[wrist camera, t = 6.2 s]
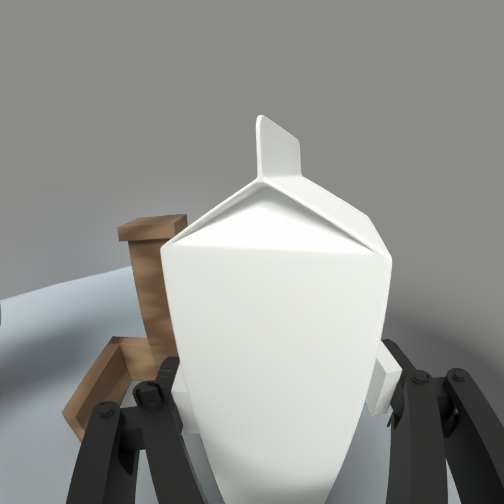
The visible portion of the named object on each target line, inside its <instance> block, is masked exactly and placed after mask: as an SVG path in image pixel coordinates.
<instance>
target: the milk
mask: <svg viewBox="0 0 504 504" xmlns="http://www.w3.org/2000/svg"><path fill="white" fill-rule="evenodd" d="M256 141H257V142H256V143H257V165H258V166H257V168H258V174H257V178H256V179H255V180H254V181H253V182H251V183H250V184H248V185H247V186H245V187H244V188H242V189H241V190H239V191H238V192H237V193H235V194H234V195H232V196H231V197H229V198H228V199H226V200H225V201H223V202H222V203H221V204H219V205H218V206H216V207H215V208H213V209H212V210H210V211H209V212H208V213H206V214H205V215H203V216H202V217H201V218H200V219H198V220H196V221H195V222H194V223H192V224H191V225H190V226H188V227H187V228H185V229H184V230H183V231H181V232H180V233H179V234H177V235H176V236H175V237H173V238H172V239H171V240H169V241H168V242H167V243H165V244H164V245H163V246H162V247H161V249H160V253H161V261H162V268H163V275H164V281H165V287H166V293H167V299H168V305H169V310H170V316H171V321H172V326H173V331H174V336H175V341H176V345H177V350H178V354H179V359H180V363H181V367H182V371H183V375H184V379H185V383H186V387H187V391H188V395H189V398H190V402H191V406H192V409H193V413H194V416H195V420H196V423H197V426H198V430H199V433H200V436H201V439H202V442H203V445H204V448H205V451H206V454H207V457H208V460H209V463H210V466H211V469H212V471H213V474H214V477H215V480H216V482H217V485H218V487H219V490H220V493H221V495H222V498H223V500H224V503H225V504H324V503H325V501H326V499H327V497H328V495H329V493H330V491H331V489H332V487H333V484H334V482H335V480H336V478H337V476H338V473H339V471H340V469H341V466H342V464H343V461H344V459H345V457H346V454H347V451H348V449H349V446H350V444H351V441H352V438H353V435H354V433H355V430H356V427H357V424H358V421H359V418H360V415H361V412H362V409H363V405H364V402H365V399H366V395H367V392H368V388H369V385H370V381H371V377H372V374H373V370H374V366H375V361H376V357H377V353H378V348H379V344H380V339H381V334H382V329H383V323H384V318H385V312H386V306H387V300H388V293H389V285H390V278H391V269H392V258H391V256H390V254H389V252H388V250H387V248H386V247H385V245H384V243H383V241H382V240H381V238H380V236H379V234H378V232H377V231H376V229H375V227H374V225H373V224H372V222H371V220H370V219H369V217H368V216H366V215H365V214H363V213H362V212H360V211H359V210H357V209H356V208H354V207H352V206H351V205H349V204H348V203H346V202H345V201H343V200H342V199H340V198H338V197H336V196H335V195H333V194H332V193H330V192H328V191H326V190H325V189H323V188H322V187H320V186H318V185H317V184H315V183H313V182H312V181H310V180H308V179H306V178H305V177H303V176H302V175H301V161H300V145H299V140H297V139H296V138H295V137H293V136H292V135H291V134H289V133H288V132H287V131H285V130H284V129H282V128H281V127H280V126H278V125H277V124H275V123H274V122H273V121H271V120H270V119H268V118H267V117H265V116H264V115H259V116H258V117H257V121H256Z"/></svg>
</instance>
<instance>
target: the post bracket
mask: <svg viewBox="0 0 504 504" xmlns="http://www.w3.org/2000/svg"><path fill="white" fill-rule="evenodd" d="M187 226H188V225H187V214H182V215H181V214H180V215H167V216H156V217H145V218H138V219H135V220H133V221H131V222H129V223H126V224H124V225H122V226H120V227H118V228H117V229H118V237H119V241H128V245H129V251H130V257H131V264H132V270H133V275H134V281H135V286H136V291H137V296H138V300H139V305H140V310H141V314H142V318H143V323H144V327H145V331H146V335H147V338H133V337H115V336H113V337H112V339H111V340H110V341H109V343H108V344H107V346H106V347H105V348H104V350H103V351H102V353H101V354H100V355H99V357H98V358H97V360H96V361H95V363H94V364H93V366H92V367H91V369H90V370H89V372H88V373H87V374H86V376H85V377H84V379H83V380H82V382H81V383H80V385H79V386H78V388H77V390H76V391H75V393H74V394H73V396H72V397H71V399H70V400H69V402H68V404H67V405H66V407H65V408H64V410H63V411H62V415H63V416H64V418H65V420H66V421H67V423H68V424H69V426H70V427H71V429H72V430H73V431H74V433H75V434H76V436H77V437H78V439H79V440H80V441H81V443H82V440H83V437H84V434H85V430H86V427H87V424H88V421H89V418H90V415H91V412H92V410H93V408H94V407H95V406H96V405H97V404H98V403H100V402H103V401H113V402H115V403H117V404H118V405H119V406H120V404H121V402H122V400H123V398H124V395H125V393H126V391H127V389H128V387H129V385H130V383H131V381H132V380H139V381H148V380H154V381H155V379H156V376H157V374H158V371H159V369H160V366H161V363H162V362H163V361H164V360H165V359H166V358H167V357H168V356H171V357H179V354H178V350H177V345H176V341H175V336H174V331H173V326H172V321H171V316H170V310H169V305H168V299H167V293H166V287H165V281H164V275H163V268H162V261H161V253H160V249H161V247H162V246H163V245H164V244H165V243H167V242H168V241H169V240H171V239H172V238H173V237H175V236H176V235H177V234H179V233H180V232H181V231H183V230H184V229H185V228H186V227H187Z"/></svg>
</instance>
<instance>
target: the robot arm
mask: <svg viewBox="0 0 504 504" xmlns="http://www.w3.org/2000/svg"><path fill="white" fill-rule="evenodd" d="M0 325H1V305H0ZM132 394H133V396H134V399H135V401H136V403H137V406H134V407H128V408H120V406H119V405H118V404H117V403H115V402H113V401H103V402H100V403H98V404H97V405H96V406H95V407H94V408H93V410H92V412H91V415H90V418H89V421H88V424H87V427H86V430H85V434H84V437H83V440H82V443H81V447H80V450H79V453H78V457H77V460H76V464H75V468H74V472H73V475H72V479H71V484H70V488H69V492H68V496H67V501H66V504H135V492H136V481H137V470H138V461H139V453H140V450H144V449H146V454H147V459H148V463H149V468H150V472H151V476H152V480H153V484H154V488H155V492H156V495H157V499H158V502H159V504H208V502H207V500H206V498H205V496H204V493H203V491H202V489H201V486H200V484H199V481H198V479H197V476H196V474H195V471H194V468H193V466H192V463H191V460H190V458H189V455H188V452H187V449H186V446H185V443H184V440H183V438H182V435H181V432H182V428H183V429H184V431H185V433H194V434H200V433H199V430H198V426H197V423H196V420H195V416H194V413H193V409H192V406H191V402H190V398H189V395H188V391H187V387H186V383H185V379H184V375H183V371H182V367H181V363H180V359H179V357H171V356H168V357H167V358H166V359H165V360H164V361H163V362H162V363H161V366H160V369H159V371H158V374H157V376H156V379H155V381H154V380H148V381H144V382H141V383H139V384H138V385H136V386H135V388H134V389H133V393H132ZM365 402H366V404H367V406H368V408H369V411H370V413H371V415H372V416H376V415H380V414H384V413H387V411H388V408H389V406H390V405H391V407H392V409H393V412H392V415H391V417H390V419H389V422H388V424H387V427H389V426H390V423H391V448H390V467H389V479H388V489H387V498H386V504H448V488H447V469H446V460H447V462H448V465H449V468H450V470H451V473H452V476H453V479H454V482H455V485H456V488H457V491H458V494H459V497H460V501H461V504H504V428H503V426H502V424H501V422H500V421H499V419H498V418H497V416H496V414H495V412H494V411H493V409H492V408H491V406H490V404H489V403H488V401H487V400H486V398H485V397H484V395H483V394H482V392H481V391H480V389H479V388H478V386H477V385H476V383H475V382H474V380H473V379H472V377H471V376H470V375H469V373H468V372H466V371H465V370H463V369H460V368H453V369H450V370H449V371H448V372H447V375H446V377H440V378H432V377H431V375H430V374H428V373H427V372H425V371H423V370H416V368H415V367H414V366H413V365H412V363H411V362H410V361H409V359H408V358H407V357H406V356H405V355H404V353H403V352H402V350H400V348H399V347H398V346H397V344H396V343H394V342H393V341H391V340H389V339H385V340H380V344H379V348H378V353H377V357H376V361H375V366H374V370H373V374H372V377H371V381H370V385H369V388H368V392H367V395H366V399H365ZM455 409H457V410H458V413H457V412H456V410H455Z"/></svg>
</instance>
